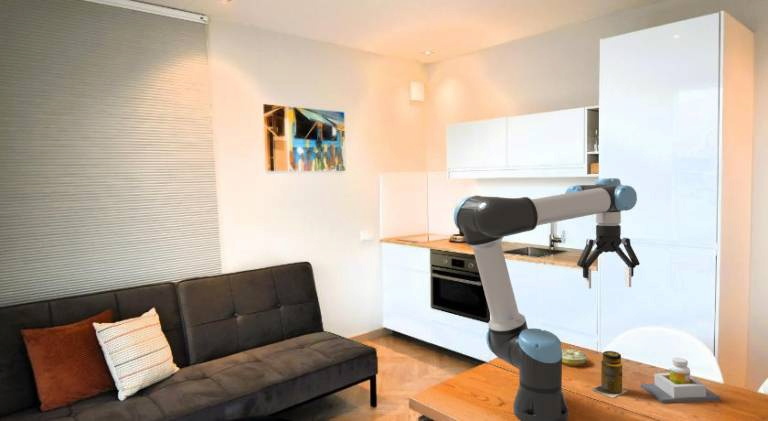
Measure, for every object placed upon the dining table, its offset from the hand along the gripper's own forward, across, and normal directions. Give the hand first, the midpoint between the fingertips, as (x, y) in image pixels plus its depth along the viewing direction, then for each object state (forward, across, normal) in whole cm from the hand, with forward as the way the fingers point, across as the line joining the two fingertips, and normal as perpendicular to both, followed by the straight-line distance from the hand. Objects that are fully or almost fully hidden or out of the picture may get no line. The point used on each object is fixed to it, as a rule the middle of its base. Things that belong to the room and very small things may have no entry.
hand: (608, 287), depth 161 cm
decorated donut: (+31, +7, -13) cm, 34 cm away
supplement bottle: (+30, -15, +15) cm, 37 cm away
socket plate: (+31, -15, +15) cm, 37 cm away
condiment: (+31, +5, +11) cm, 33 cm away
